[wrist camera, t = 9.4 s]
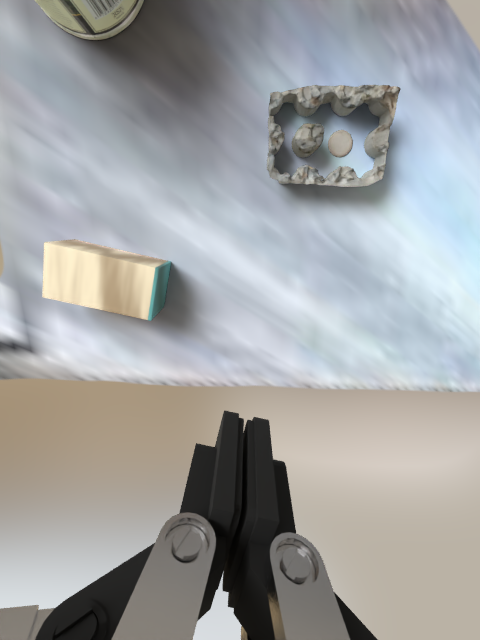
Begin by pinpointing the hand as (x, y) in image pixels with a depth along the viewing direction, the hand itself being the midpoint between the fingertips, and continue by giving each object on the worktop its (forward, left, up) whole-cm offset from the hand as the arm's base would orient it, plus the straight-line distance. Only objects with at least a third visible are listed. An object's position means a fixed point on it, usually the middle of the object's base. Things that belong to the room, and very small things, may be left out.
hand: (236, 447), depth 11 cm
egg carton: (-4, -16, -23) cm, 29 cm away
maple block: (+8, 0, -20) cm, 22 cm away
